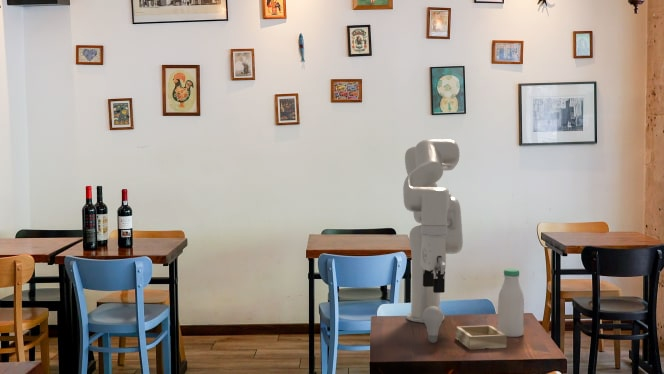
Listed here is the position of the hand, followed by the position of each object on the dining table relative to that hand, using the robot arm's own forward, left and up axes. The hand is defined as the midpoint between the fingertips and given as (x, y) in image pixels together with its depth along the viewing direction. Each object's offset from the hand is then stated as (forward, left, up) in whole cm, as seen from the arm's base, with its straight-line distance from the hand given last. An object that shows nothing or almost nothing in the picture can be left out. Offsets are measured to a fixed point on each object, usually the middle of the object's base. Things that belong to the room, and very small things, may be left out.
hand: (433, 289), depth 210 cm
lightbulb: (0, 0, -16) cm, 16 cm away
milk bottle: (-6, +27, -16) cm, 32 cm away
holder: (+2, +14, -16) cm, 21 cm away
